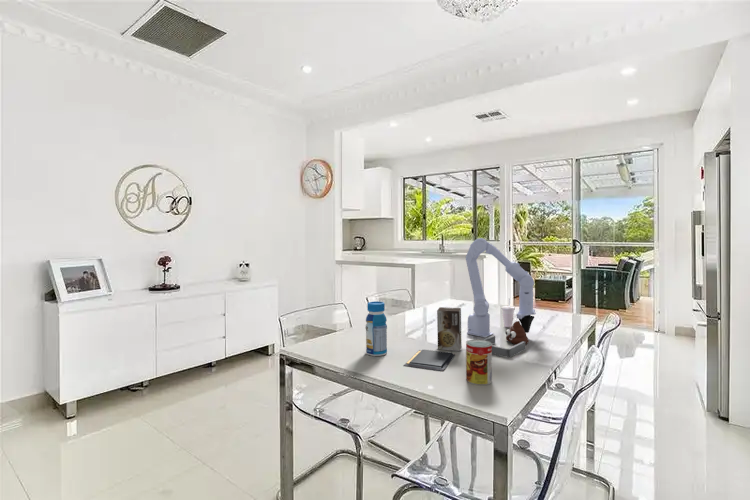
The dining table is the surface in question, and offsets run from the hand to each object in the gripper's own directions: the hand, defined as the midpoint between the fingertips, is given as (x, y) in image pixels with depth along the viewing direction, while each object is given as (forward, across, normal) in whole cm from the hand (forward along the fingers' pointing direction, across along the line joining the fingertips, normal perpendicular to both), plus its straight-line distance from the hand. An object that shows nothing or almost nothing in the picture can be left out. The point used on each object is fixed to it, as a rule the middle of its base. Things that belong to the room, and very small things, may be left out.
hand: (525, 332), depth 169 cm
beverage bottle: (+3, -60, +33) cm, 69 cm away
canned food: (+3, -58, -10) cm, 58 cm away
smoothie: (+3, +14, +15) cm, 20 cm away
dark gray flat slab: (+3, -52, +13) cm, 54 cm away
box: (+2, -23, 0) cm, 23 cm away
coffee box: (+3, -36, +16) cm, 39 cm away
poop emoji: (+3, -9, 0) cm, 10 cm away
